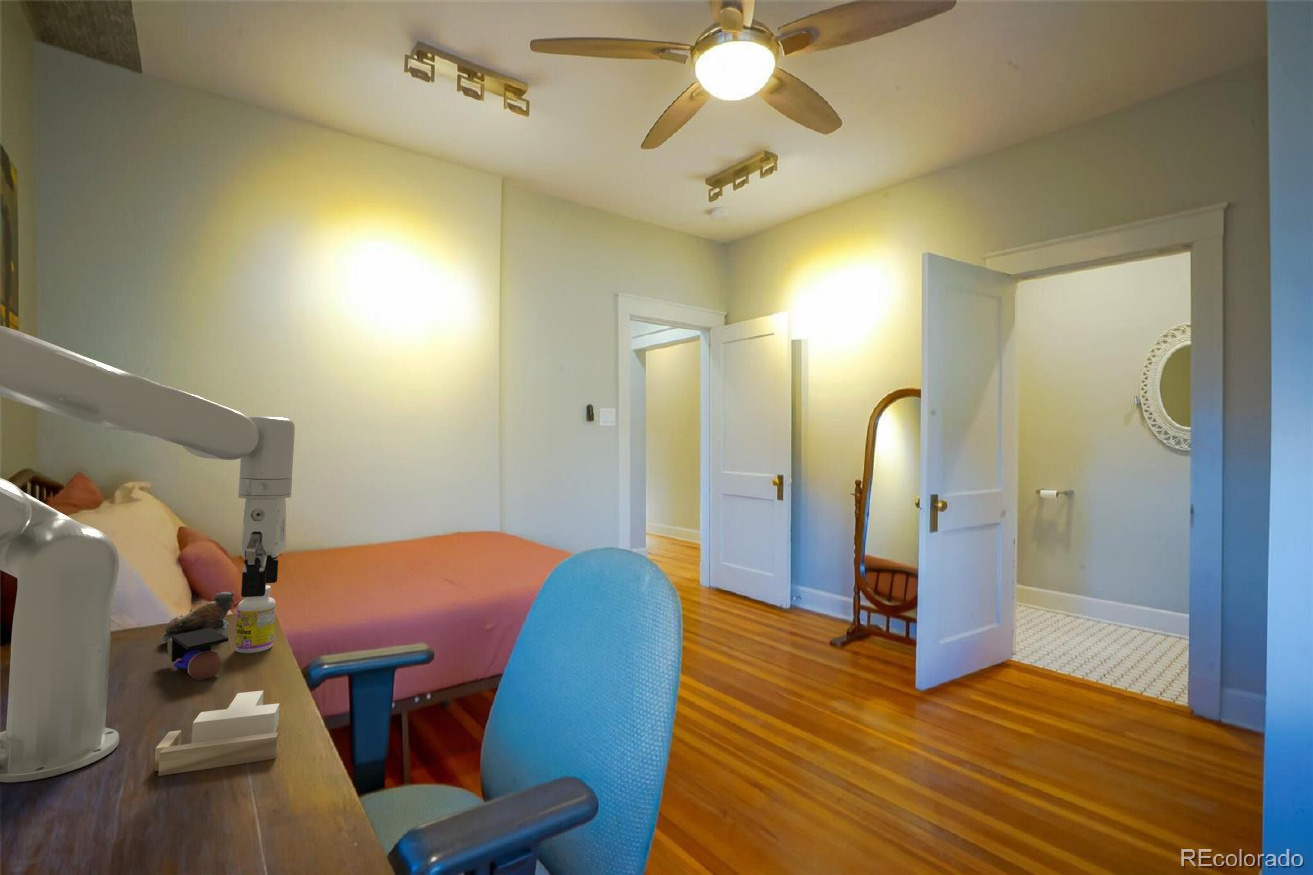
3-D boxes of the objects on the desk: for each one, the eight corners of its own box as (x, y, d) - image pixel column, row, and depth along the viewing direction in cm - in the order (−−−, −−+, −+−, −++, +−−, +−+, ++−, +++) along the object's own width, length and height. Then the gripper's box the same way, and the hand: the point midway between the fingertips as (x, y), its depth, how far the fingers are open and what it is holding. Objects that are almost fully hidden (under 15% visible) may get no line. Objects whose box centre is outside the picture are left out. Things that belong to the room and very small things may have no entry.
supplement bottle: (228, 650, 121) (231, 588, 121) (262, 641, 127) (265, 582, 127) (246, 656, 118) (249, 593, 118) (280, 647, 124) (283, 586, 124)
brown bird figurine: (158, 648, 121) (161, 600, 121) (166, 638, 127) (169, 592, 127) (229, 641, 126) (232, 594, 127) (234, 632, 132) (236, 587, 133)
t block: (273, 736, 87) (274, 712, 87) (191, 747, 83) (192, 722, 83) (285, 709, 96) (287, 688, 96) (212, 718, 92) (213, 695, 92)
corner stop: (275, 758, 81) (276, 736, 81) (149, 777, 76) (150, 753, 76) (284, 737, 87) (285, 717, 87) (167, 753, 81) (169, 731, 82)
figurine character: (162, 673, 112) (185, 686, 103) (163, 632, 112) (186, 642, 103) (205, 664, 117) (231, 675, 108) (206, 625, 118) (232, 633, 109)
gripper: (281, 493, 93) (275, 600, 93) (299, 485, 109) (294, 577, 109) (224, 492, 90) (218, 603, 90) (251, 485, 106) (246, 579, 106)
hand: (260, 589), depth 99 cm, fingers open, 9 cm apart
